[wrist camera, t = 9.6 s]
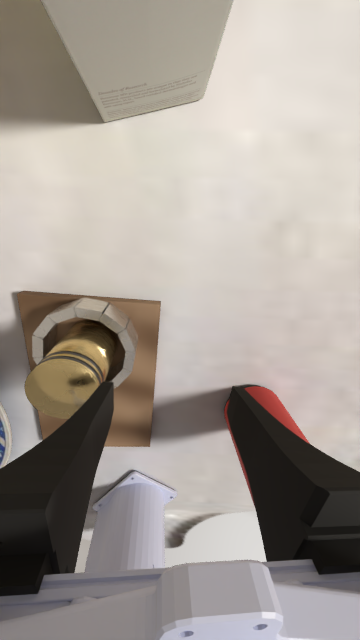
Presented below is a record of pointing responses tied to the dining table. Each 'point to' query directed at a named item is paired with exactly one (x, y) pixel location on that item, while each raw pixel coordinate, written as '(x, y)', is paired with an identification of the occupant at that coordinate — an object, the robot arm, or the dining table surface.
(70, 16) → the supplement box
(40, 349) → the ring collar
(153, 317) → the walnut board
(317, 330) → the dining table surface
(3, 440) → the ceramic plate
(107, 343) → the piston
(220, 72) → the dining table surface
